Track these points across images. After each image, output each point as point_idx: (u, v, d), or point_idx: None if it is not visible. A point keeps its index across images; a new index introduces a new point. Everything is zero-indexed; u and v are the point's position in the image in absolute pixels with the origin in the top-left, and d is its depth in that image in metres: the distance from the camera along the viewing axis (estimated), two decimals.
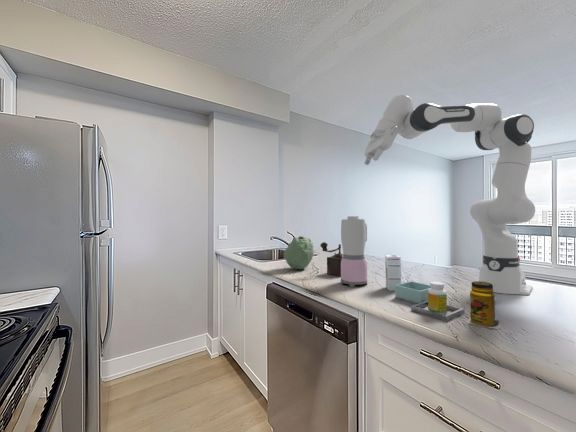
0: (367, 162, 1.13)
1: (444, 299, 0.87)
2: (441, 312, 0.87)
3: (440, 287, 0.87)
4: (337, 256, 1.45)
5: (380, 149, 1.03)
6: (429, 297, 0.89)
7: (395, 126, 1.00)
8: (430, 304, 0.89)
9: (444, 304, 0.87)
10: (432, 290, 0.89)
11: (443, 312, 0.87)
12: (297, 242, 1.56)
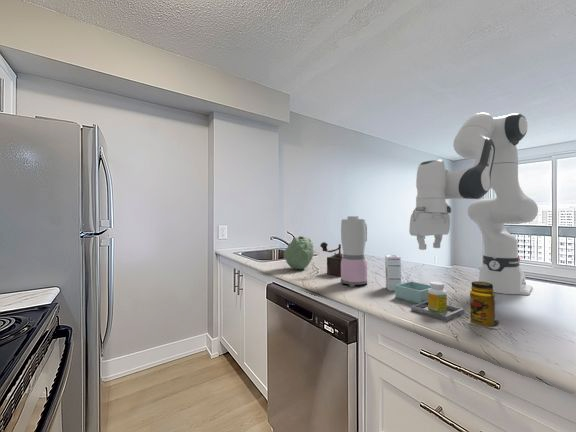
0: (435, 246, 0.92)
1: (444, 299, 0.87)
2: (441, 312, 0.87)
3: (440, 287, 0.87)
4: (337, 256, 1.45)
5: (418, 238, 0.87)
6: (429, 297, 0.89)
7: (414, 210, 0.85)
8: (430, 304, 0.89)
9: (444, 304, 0.87)
10: (432, 290, 0.89)
11: (443, 312, 0.87)
12: (297, 242, 1.56)
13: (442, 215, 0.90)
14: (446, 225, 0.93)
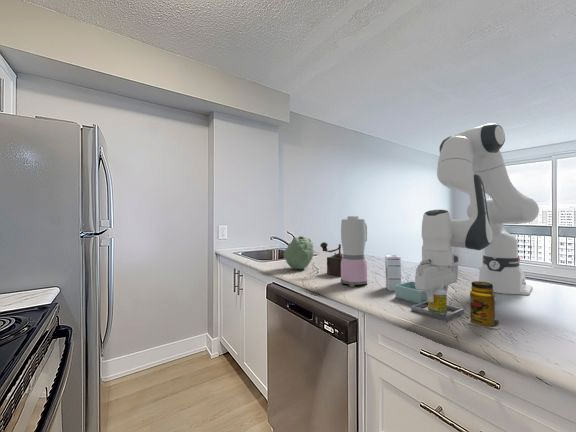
0: None
1: (444, 299, 0.87)
2: (441, 312, 0.87)
3: (440, 287, 0.87)
4: (337, 256, 1.45)
5: (427, 290, 0.87)
6: None
7: (419, 264, 0.84)
8: (430, 304, 0.89)
9: (444, 304, 0.87)
10: None
11: (443, 312, 0.87)
12: (297, 242, 1.56)
13: (449, 265, 0.89)
14: (454, 273, 0.92)
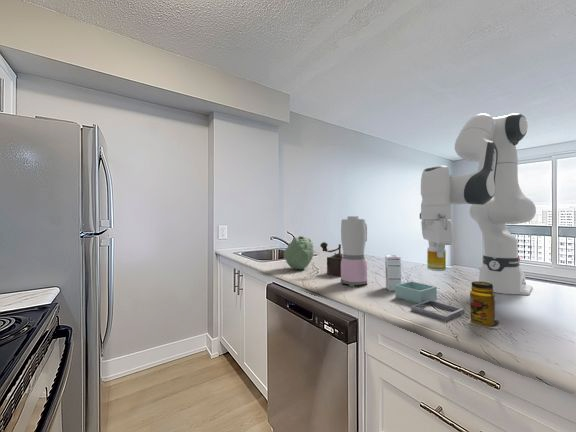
0: None
1: None
2: (445, 268, 0.88)
3: None
4: (337, 256, 1.45)
5: (439, 246, 0.85)
6: (433, 256, 0.88)
7: (445, 218, 0.80)
8: (435, 262, 0.87)
9: None
10: None
11: (445, 268, 0.88)
12: (297, 242, 1.56)
13: None
14: None
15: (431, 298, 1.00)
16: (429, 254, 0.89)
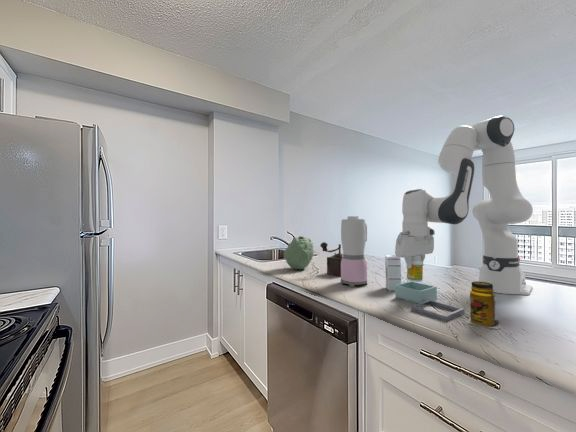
0: None
1: (420, 268, 1.01)
2: (417, 279, 1.01)
3: (417, 258, 1.01)
4: (337, 256, 1.45)
5: (405, 258, 1.01)
6: None
7: (398, 235, 0.98)
8: (408, 273, 1.03)
9: (420, 273, 1.01)
10: None
11: (419, 279, 1.01)
12: (297, 242, 1.56)
13: (425, 237, 1.03)
14: (430, 245, 1.06)
15: (431, 298, 1.00)
16: None
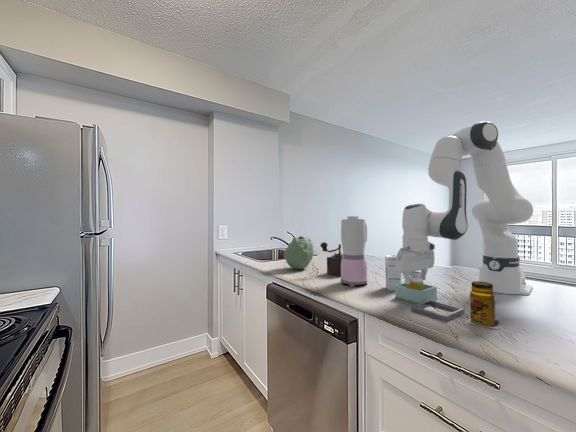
0: None
1: (421, 286, 1.01)
2: None
3: (417, 276, 1.01)
4: (337, 256, 1.45)
5: (404, 274, 1.00)
6: (408, 284, 1.03)
7: (399, 250, 0.98)
8: None
9: (421, 290, 1.01)
10: (411, 278, 1.03)
11: None
12: (297, 242, 1.56)
13: (426, 252, 1.03)
14: (431, 259, 1.06)
15: (431, 298, 1.00)
16: None
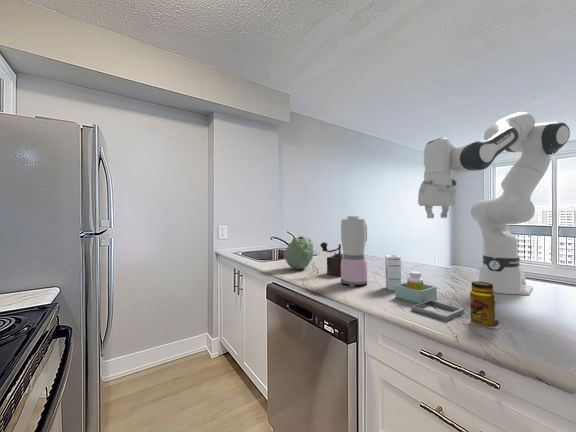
0: (442, 216, 1.04)
1: (421, 286, 1.01)
2: None
3: (417, 275, 1.01)
4: (337, 256, 1.45)
5: (426, 208, 0.98)
6: (408, 284, 1.03)
7: None
8: None
9: (421, 290, 1.01)
10: (411, 278, 1.03)
11: None
12: (297, 242, 1.56)
13: (448, 188, 1.01)
14: (452, 197, 1.04)
15: (431, 298, 1.00)
16: None
